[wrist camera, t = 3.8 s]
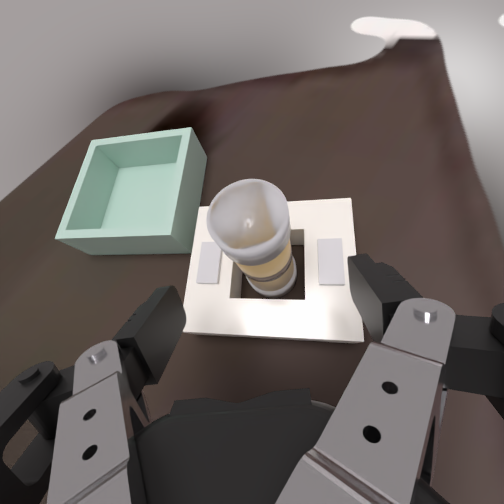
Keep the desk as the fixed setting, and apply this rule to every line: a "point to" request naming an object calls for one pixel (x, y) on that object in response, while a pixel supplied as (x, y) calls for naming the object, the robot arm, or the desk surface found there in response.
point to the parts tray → (137, 195)
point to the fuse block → (278, 310)
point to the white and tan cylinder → (255, 234)
